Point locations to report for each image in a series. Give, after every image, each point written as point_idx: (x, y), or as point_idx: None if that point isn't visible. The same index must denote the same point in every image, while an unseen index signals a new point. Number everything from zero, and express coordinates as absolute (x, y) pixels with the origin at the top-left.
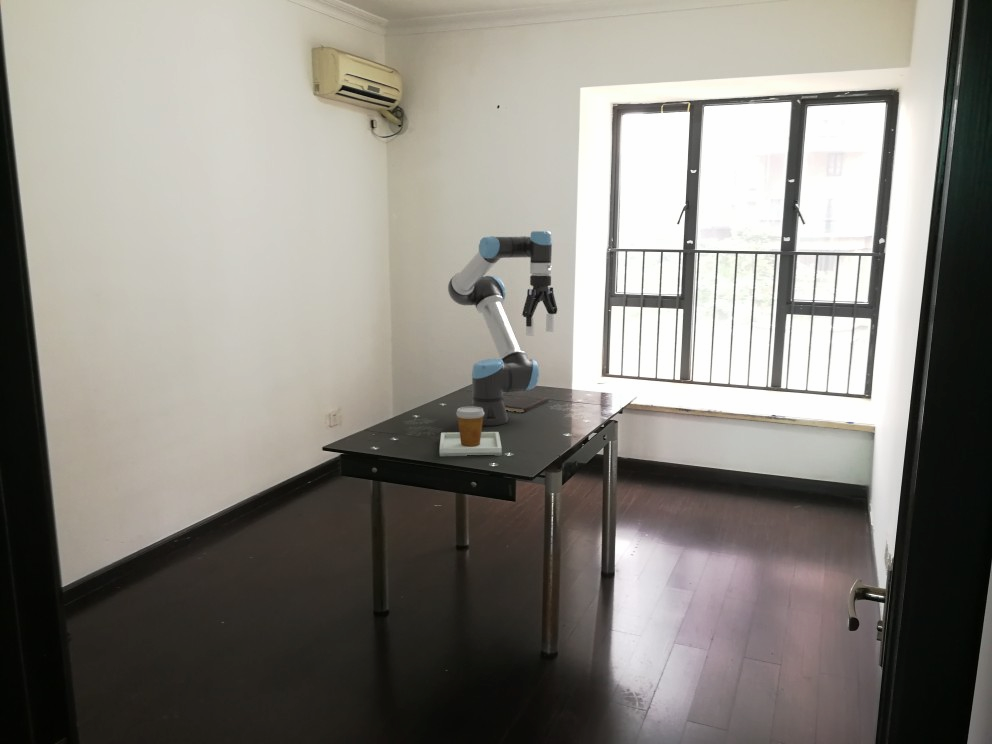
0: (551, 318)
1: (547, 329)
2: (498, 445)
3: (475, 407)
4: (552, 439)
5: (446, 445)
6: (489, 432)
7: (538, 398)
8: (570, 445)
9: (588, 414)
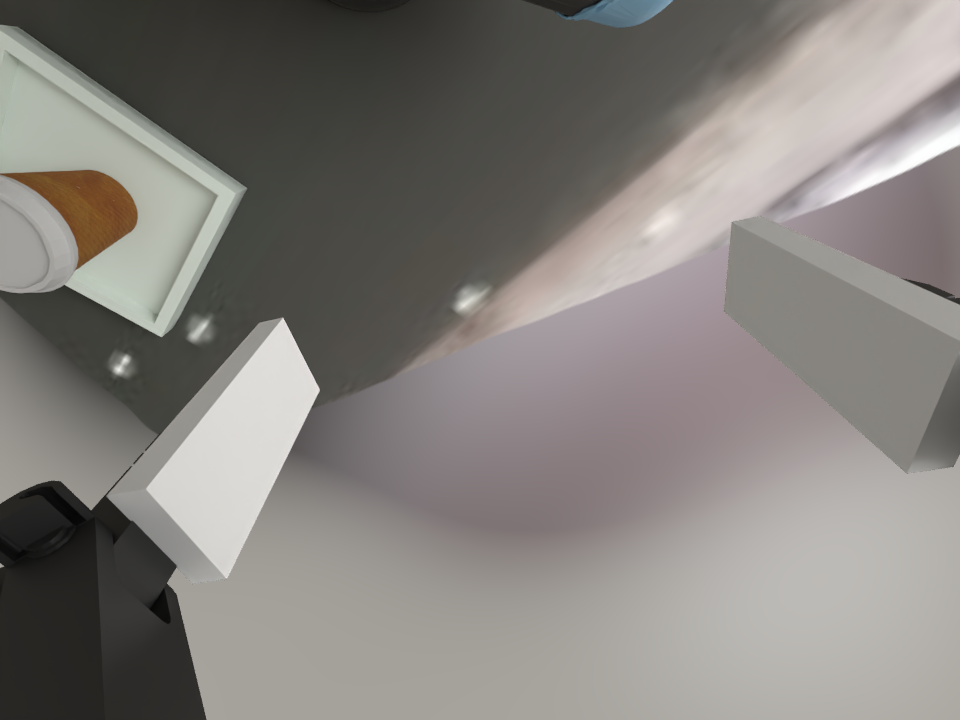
0: (849, 397)
1: (744, 249)
2: (162, 314)
3: (30, 219)
4: (395, 307)
5: (7, 156)
6: (199, 175)
7: None
8: (395, 374)
9: (761, 157)
